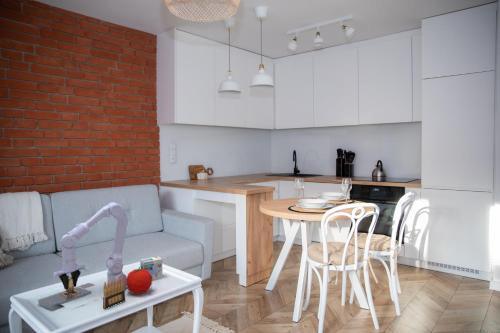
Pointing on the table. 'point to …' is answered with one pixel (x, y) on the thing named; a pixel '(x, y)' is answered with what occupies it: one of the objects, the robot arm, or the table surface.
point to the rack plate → (62, 298)
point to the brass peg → (70, 284)
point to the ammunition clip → (113, 293)
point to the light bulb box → (152, 266)
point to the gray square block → (86, 285)
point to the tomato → (139, 281)
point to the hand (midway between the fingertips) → (70, 287)
